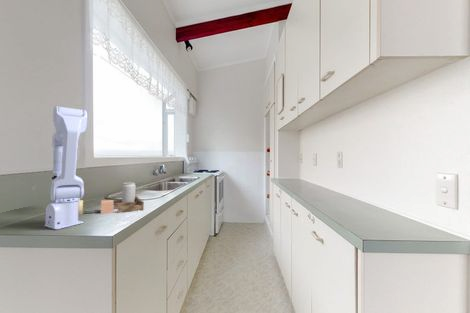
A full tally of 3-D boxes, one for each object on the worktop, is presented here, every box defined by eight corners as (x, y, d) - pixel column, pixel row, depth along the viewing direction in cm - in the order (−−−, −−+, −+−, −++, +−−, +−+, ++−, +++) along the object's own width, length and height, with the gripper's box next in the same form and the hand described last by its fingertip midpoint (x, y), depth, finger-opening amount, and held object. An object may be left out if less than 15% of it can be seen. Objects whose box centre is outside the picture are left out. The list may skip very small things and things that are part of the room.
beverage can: (137, 204, 123) (138, 182, 123) (130, 207, 117) (131, 183, 117) (126, 203, 124) (126, 181, 124) (119, 206, 118) (119, 183, 118)
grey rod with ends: (73, 215, 98) (74, 202, 98) (75, 213, 102) (75, 199, 102) (113, 212, 106) (113, 199, 106) (112, 210, 110) (113, 197, 110)
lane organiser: (118, 212, 106) (118, 204, 106) (113, 204, 121) (113, 197, 121) (143, 210, 112) (143, 202, 112) (135, 202, 127) (135, 195, 127)
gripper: (71, 162, 99) (71, 193, 99) (72, 161, 111) (71, 189, 111) (51, 162, 95) (50, 194, 95) (53, 160, 107) (53, 189, 107)
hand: (60, 191), depth 102 cm, fingers open, 7 cm apart
